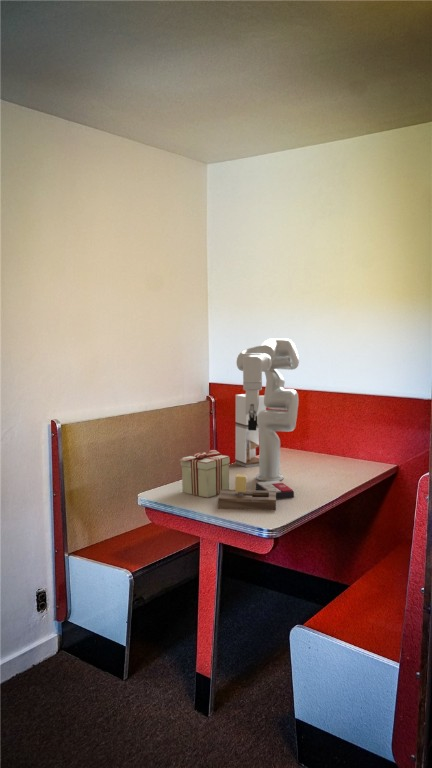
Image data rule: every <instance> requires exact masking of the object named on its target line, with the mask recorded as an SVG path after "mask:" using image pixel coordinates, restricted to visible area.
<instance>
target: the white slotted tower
mask: <svg viewBox="0 0 432 768" xmlns="http://www.w3.org/2000/svg"><path fill="white" fill-rule="evenodd" d="M245 400H246V393H241V394H235V462H234V463H235V464H236V465H239V466H242V467H244V468H250V467H251V468H252V467H259V457H257V451H256V450H257V449H258V448H259V428H258V421H257V425H256V430H248V420H249V413H248V414H247V415H246V414H245ZM263 410H267V408H266V407H265V405H264V395H259V407H258V413H257V417H258V414H259V412H261V411H263Z"/></svg>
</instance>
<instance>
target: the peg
mask: <svg viewBox="0 0 432 768" xmlns="http://www.w3.org/2000/svg"><path fill="white" fill-rule="evenodd" d="M234 478H235V479H234V482H235V484H234V486H235V489H234V490H235V492H238V495H240V496H243V492H246V490H247V474H244V473H243V474H242V473H241V474H238V473H236V474H235V477H234Z"/></svg>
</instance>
